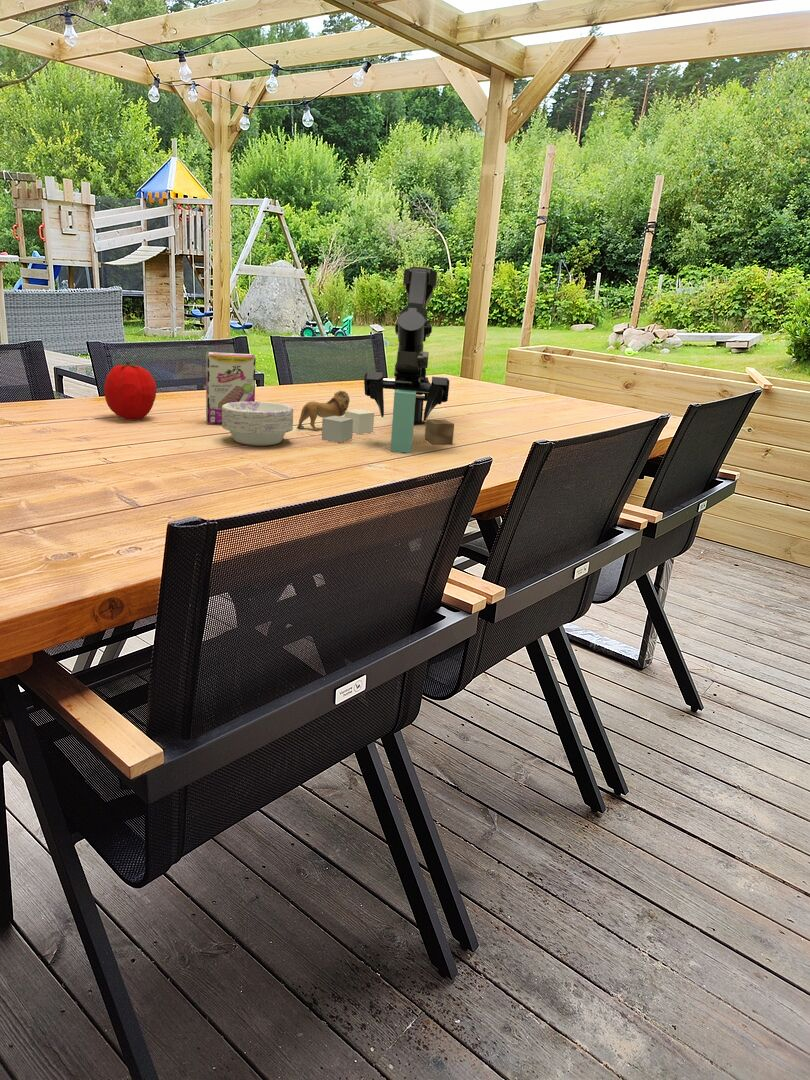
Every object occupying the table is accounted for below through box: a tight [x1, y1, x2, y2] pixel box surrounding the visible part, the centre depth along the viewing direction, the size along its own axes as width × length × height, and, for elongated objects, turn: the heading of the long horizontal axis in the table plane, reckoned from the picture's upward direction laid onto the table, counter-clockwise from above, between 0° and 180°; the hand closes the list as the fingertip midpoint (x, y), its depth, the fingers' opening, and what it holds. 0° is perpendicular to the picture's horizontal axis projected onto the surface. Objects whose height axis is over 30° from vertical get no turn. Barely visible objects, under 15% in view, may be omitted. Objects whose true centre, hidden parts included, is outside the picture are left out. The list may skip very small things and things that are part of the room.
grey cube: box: [321, 416, 353, 444], centre depth 175 cm, size 5×5×5 cm
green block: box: [390, 389, 416, 454], centre depth 168 cm, size 4×4×13 cm
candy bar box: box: [205, 351, 256, 425], centre depth 182 cm, size 11×5×16 cm, turn 108°
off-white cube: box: [344, 408, 375, 435], centre depth 185 cm, size 5×5×5 cm
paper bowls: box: [221, 401, 294, 447], centre depth 167 cm, size 15×15×8 cm
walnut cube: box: [424, 419, 455, 446], centre depth 181 cm, size 5×5×5 cm
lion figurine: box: [296, 390, 350, 432], centre depth 185 cm, size 15×5×9 cm, turn 131°
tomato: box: [103, 361, 158, 421], centre depth 179 cm, size 12×12×13 cm
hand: (403, 418), depth 167 cm, fingers open, 9 cm apart
